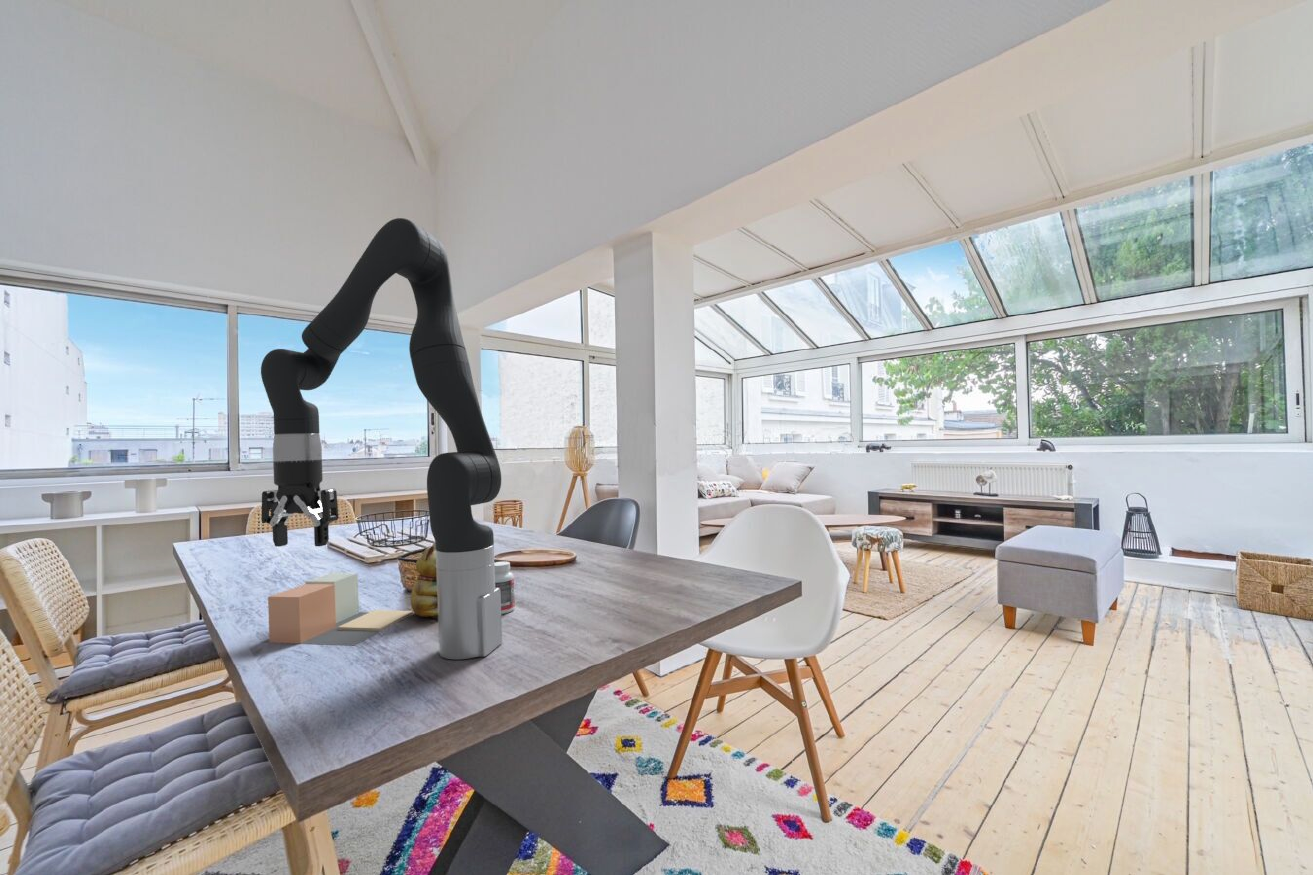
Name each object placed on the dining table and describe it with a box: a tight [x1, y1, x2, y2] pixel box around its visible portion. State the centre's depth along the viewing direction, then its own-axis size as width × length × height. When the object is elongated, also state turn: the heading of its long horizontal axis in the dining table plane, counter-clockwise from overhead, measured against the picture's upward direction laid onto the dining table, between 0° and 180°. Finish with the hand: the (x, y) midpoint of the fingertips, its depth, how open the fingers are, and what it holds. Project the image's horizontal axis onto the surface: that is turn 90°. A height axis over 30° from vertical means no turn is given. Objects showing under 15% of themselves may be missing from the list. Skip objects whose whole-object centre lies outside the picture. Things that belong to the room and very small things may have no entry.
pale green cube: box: [305, 572, 360, 623], centre depth 108 cm, size 6×6×8 cm
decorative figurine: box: [410, 543, 438, 620], centre depth 109 cm, size 10×8×15 cm
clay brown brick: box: [267, 583, 336, 644], centre depth 99 cm, size 6×8×8 cm
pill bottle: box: [494, 561, 516, 615], centre depth 110 cm, size 5×5×10 cm
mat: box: [260, 609, 416, 647], centre depth 102 cm, size 19×17×1 cm
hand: (300, 545), depth 99 cm, fingers open, 8 cm apart
